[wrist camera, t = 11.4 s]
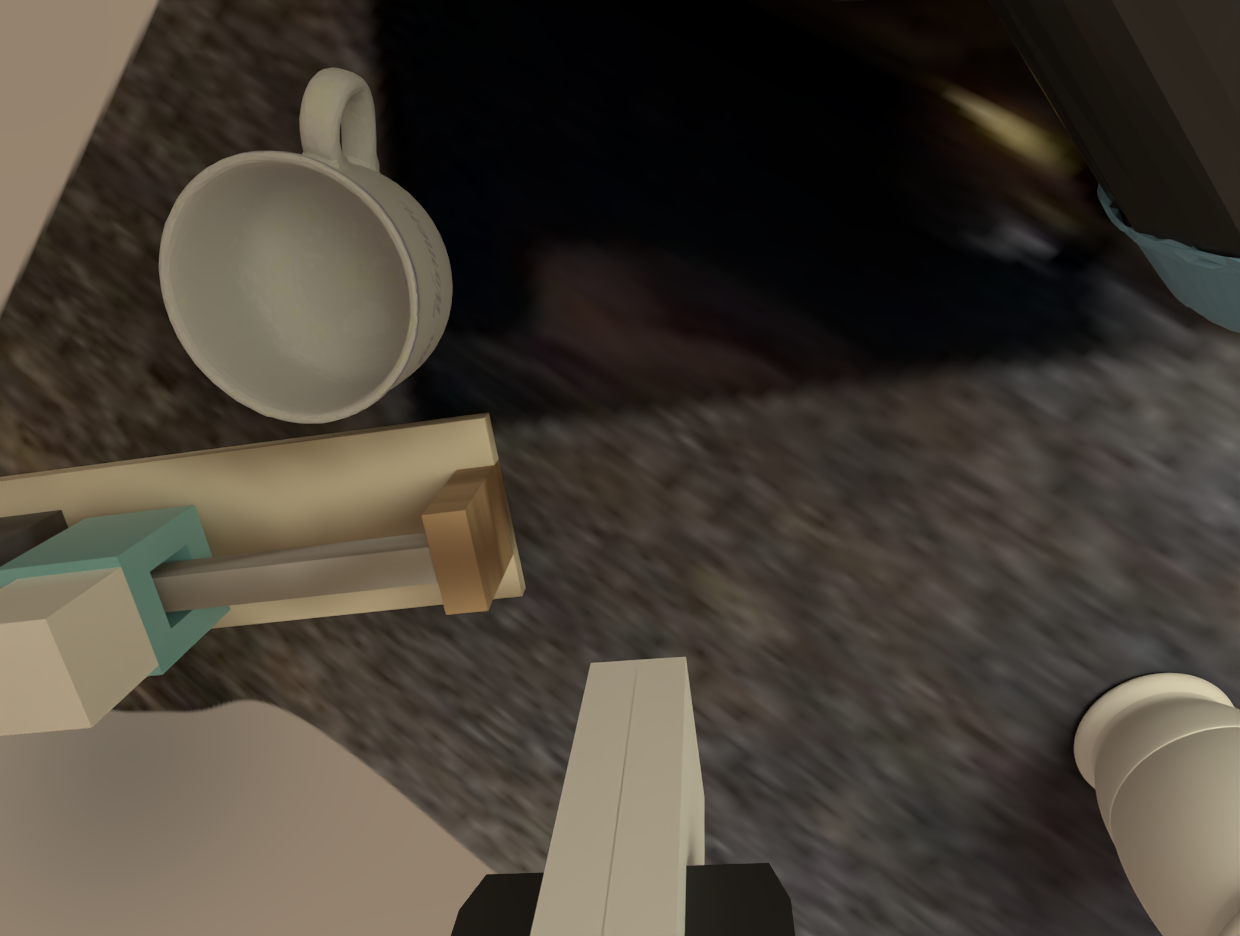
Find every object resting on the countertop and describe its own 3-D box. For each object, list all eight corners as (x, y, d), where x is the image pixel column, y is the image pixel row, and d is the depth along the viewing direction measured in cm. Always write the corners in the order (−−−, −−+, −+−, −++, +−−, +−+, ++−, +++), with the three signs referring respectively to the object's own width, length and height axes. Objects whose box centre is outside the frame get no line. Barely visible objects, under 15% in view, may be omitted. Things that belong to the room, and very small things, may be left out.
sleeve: (85, 518, 42) (-99, 622, 32) (194, 504, 41) (40, 607, 31) (126, 620, 44) (-37, 749, 34) (230, 609, 43) (96, 738, 33)
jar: (1144, 840, 47) (1340, 1120, 33) (1011, 748, 46) (1157, 1000, 32) (1296, 719, 44) (1585, 973, 30) (1157, 617, 43) (1393, 832, 29)
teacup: (417, 418, 42) (359, 470, 34) (221, 318, 41) (117, 348, 33) (533, 161, 37) (496, 157, 30) (316, 41, 36) (221, 4, 29)
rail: (-6, 477, 45) (-145, 537, 37) (488, 412, 41) (446, 464, 34) (61, 636, 48) (-54, 721, 40) (525, 587, 45) (494, 669, 37)
